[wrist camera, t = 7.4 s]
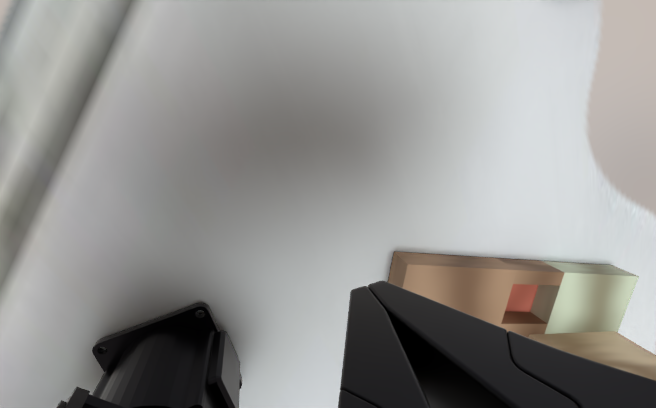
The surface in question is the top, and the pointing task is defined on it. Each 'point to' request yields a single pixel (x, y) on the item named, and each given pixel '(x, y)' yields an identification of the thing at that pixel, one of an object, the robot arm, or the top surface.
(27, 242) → the top surface
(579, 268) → the board
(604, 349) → the maple block
